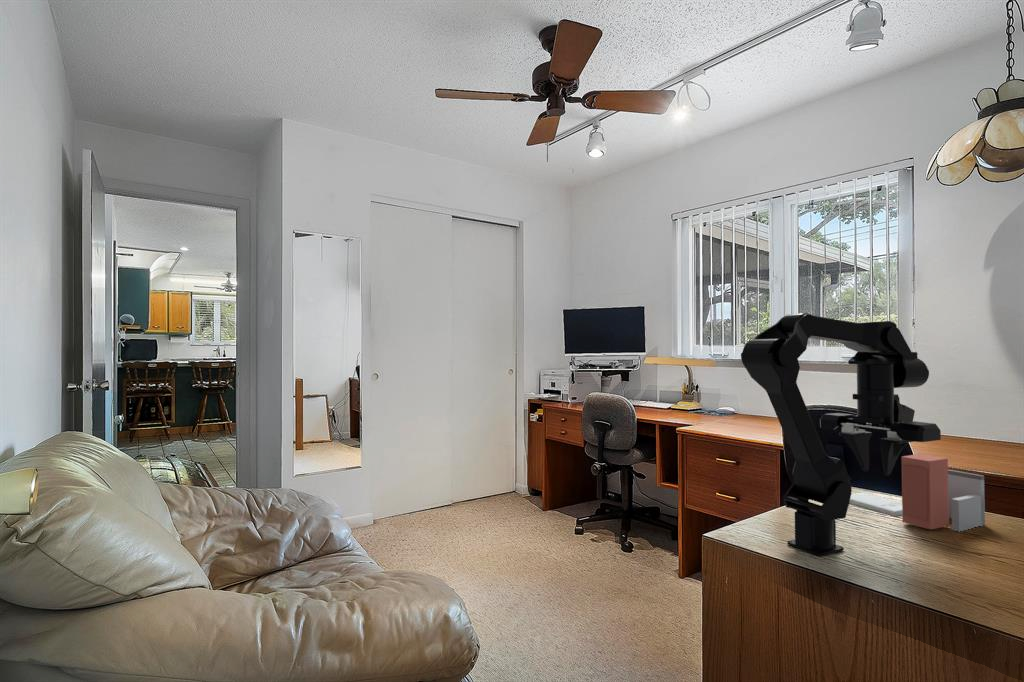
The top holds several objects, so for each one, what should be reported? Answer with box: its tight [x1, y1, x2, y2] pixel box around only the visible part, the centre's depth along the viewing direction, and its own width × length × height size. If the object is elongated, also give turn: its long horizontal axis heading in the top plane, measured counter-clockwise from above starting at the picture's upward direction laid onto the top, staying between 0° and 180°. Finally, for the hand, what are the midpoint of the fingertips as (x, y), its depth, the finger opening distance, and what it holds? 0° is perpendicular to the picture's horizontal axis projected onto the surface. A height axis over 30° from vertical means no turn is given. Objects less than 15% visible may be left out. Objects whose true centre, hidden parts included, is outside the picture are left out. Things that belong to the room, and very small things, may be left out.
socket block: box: [948, 468, 986, 533], centre depth 109 cm, size 9×9×10 cm
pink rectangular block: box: [901, 453, 950, 530], centre depth 106 cm, size 7×5×13 cm
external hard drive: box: [849, 492, 902, 517], centre depth 120 cm, size 2×8×12 cm
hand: (876, 472), depth 100 cm, fingers open, 4 cm apart
